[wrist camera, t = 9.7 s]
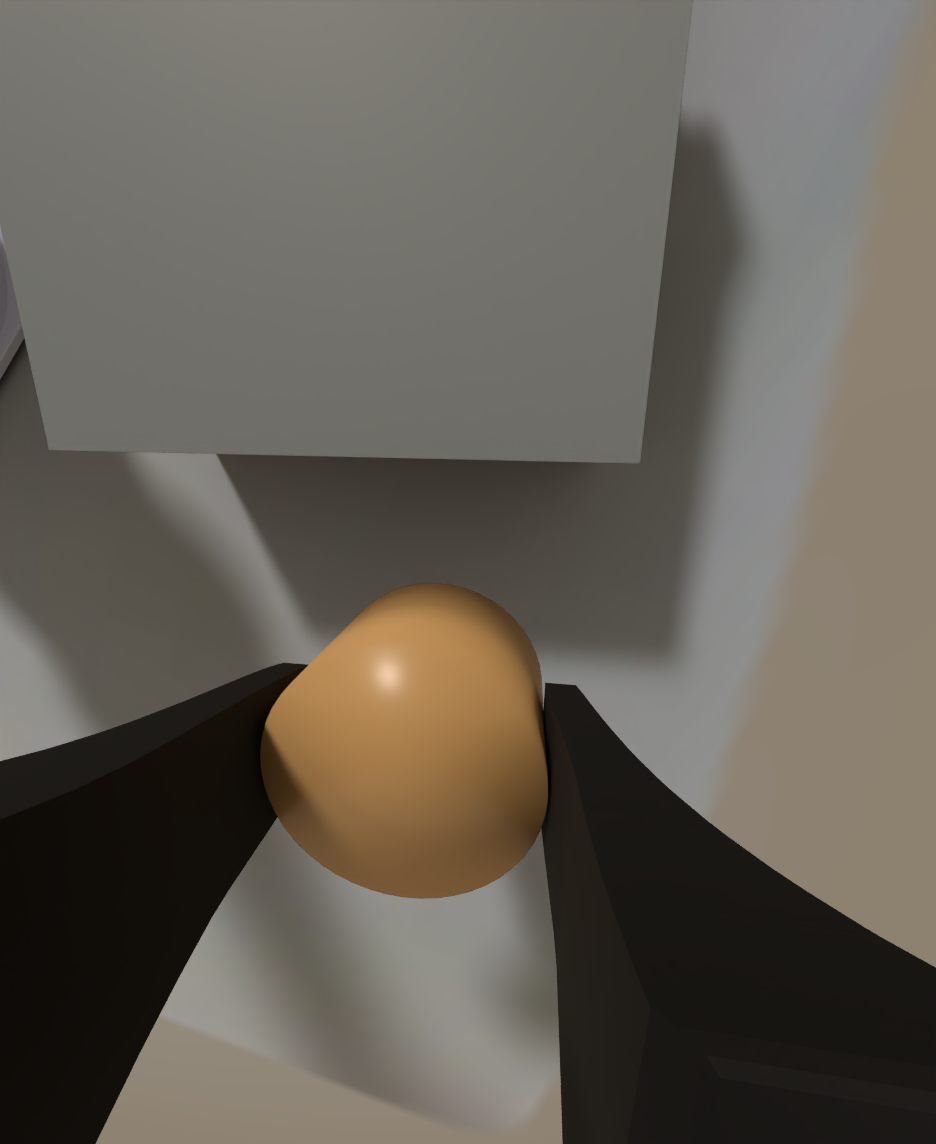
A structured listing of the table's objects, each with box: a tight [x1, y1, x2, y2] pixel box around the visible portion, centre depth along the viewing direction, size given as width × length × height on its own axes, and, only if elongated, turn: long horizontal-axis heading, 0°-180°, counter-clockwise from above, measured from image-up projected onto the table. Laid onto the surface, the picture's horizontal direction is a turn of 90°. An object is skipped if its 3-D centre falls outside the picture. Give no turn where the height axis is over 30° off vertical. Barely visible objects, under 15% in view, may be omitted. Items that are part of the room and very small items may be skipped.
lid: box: [0, 0, 693, 463], centre depth 10 cm, size 13×15×3 cm
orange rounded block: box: [260, 583, 548, 898], centre depth 10 cm, size 5×5×4 cm
